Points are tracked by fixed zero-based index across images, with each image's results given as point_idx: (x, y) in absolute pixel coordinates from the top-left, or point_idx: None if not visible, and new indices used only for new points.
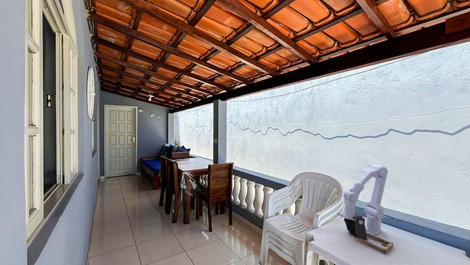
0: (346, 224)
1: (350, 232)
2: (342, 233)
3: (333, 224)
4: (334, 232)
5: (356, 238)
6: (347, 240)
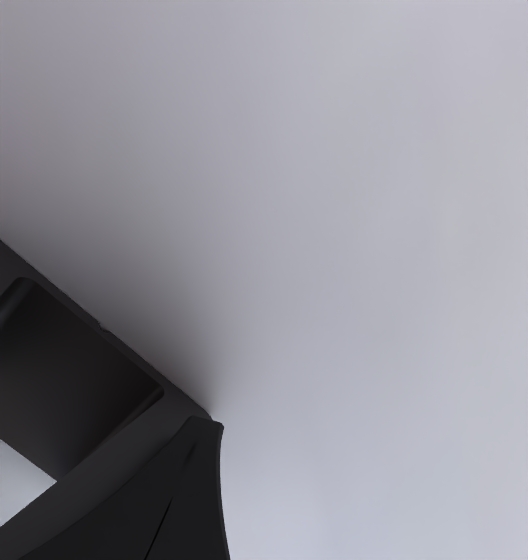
0: (200, 534)
1: (161, 399)
2: (293, 281)
3: (522, 538)
4: (463, 186)
5: (24, 263)
6: (118, 5)
